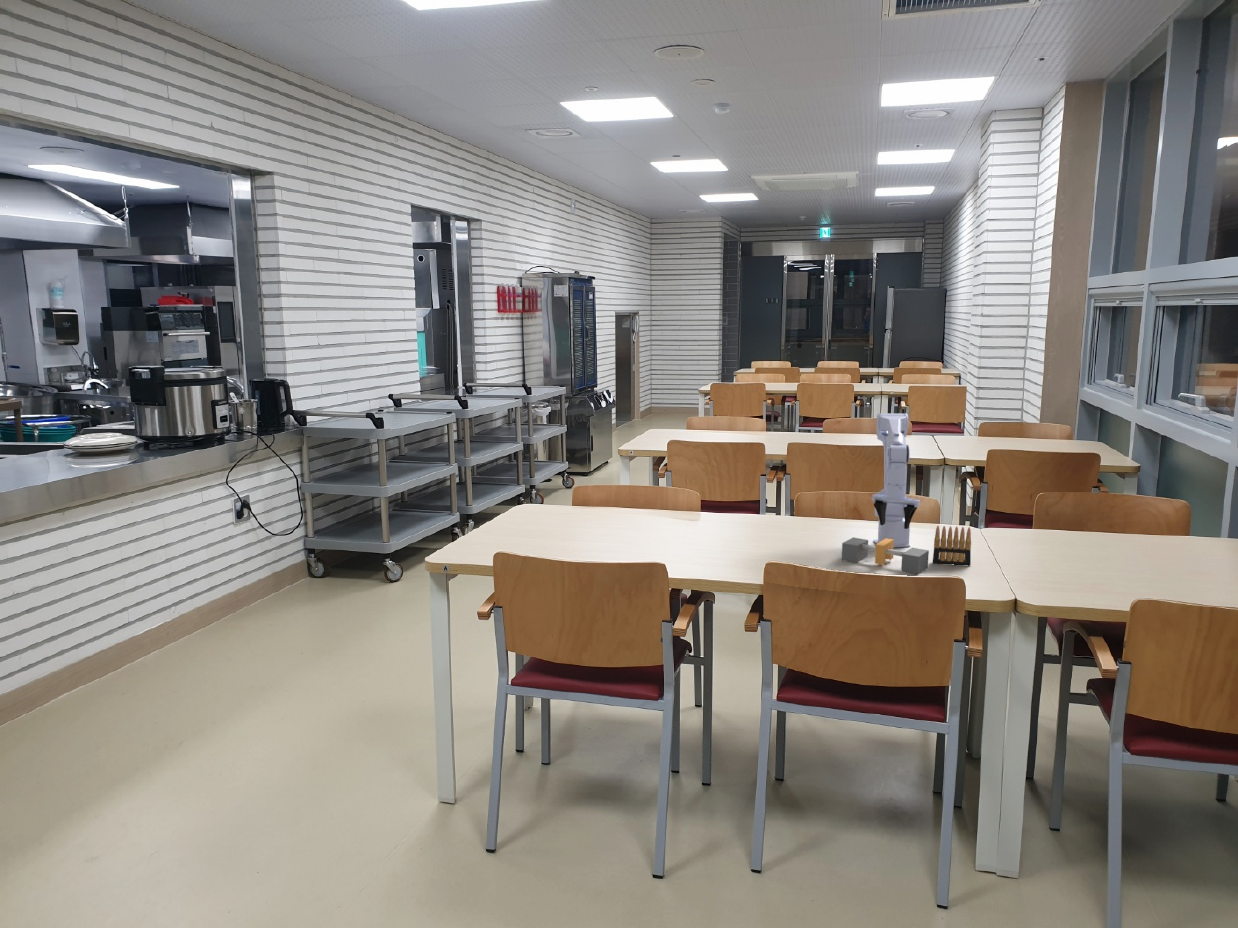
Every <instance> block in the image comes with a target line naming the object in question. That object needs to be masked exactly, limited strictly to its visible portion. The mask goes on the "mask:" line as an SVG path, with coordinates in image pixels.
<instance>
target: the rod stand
mask: <svg viewBox="0 0 1238 928" xmlns="http://www.w3.org/2000/svg"><path fill="white" fill-rule="evenodd" d="M841 544H842V545H841V561H844V560H845V561H844V562H850V563H855V564H856V563H859V562H862V561H863V560H865V559H866V558H868V557H869V556H868V555H869V551H870V552H874V553H875V547H876V545H869V539H864V538H857V537H851V538H850V539H847V540H846V541H844V542H841ZM929 552H930V551H929V550H928V549H923V548H916V547H911V548H909V549H908V550H906V551H902V550H897V549H894V550H892V549H888V550H886V554H891V555H893V556H898V557H901V570H900V571H901V573H908V574H912V575H913V574H914V575H917V574H918V575H920V574H921V573H922V572H924V571H925V570H927V569H928V568H929V555H930V553H929Z"/></svg>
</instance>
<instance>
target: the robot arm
mask: <svg viewBox="0 0 1238 928" xmlns="http://www.w3.org/2000/svg"><path fill="white" fill-rule="evenodd" d="M875 425H876V438H877V440H879V441H881V442H882V444H883V489H880V491H878V492H877V493H876V494H875V493H874V494H871V501H872V502H874V503H873V506H874V516H875V517H877V518H878V525H877V526H878V528H877V529H878V531H877V539H873V541H872V542H873V543H875V545H876V544H877V543H879V542H881V541H882V540H884V539H886V538H888V539H894V548H905V547H906V548H908V547H911V545H910V533H911V531H910V530H911V529H910V528H911V525H910V524H911V522H912V519H913V517H914V514H915V512H916V510H917V509H918V508H919V507H920V506H921V500H920V499H915V498H911V497H907V475H908V465H909V463H910V457H911V455H910V454H911V453H910V452H911V451H910V446H909V445H908V444H907V442H906V441H907V440H906V437H907V434H908V433H907V432H908V429H909V415H908V414H907V413H906V412H905V413H886V412H885V413H884V412H883V413H882V412H879V413H878V412H877V415H876V423H875Z"/></svg>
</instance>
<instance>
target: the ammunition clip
mask: <svg viewBox="0 0 1238 928" xmlns="http://www.w3.org/2000/svg"><path fill="white" fill-rule="evenodd" d="M940 530H941V534H940ZM971 530H972V529H971V527H970V526H968V528H967V531H965V527H964V526H962V527H961V529H960V535H959V528H958V526H955V528H954V533H953V529H952V526H951V525H950V526H949V527H948V533H947V528H946V526H945V525H943V527H942V529H940V526H939V525H937V526H936V528H935V535H934V538H933V539H934V540H933V555H932V564H933V565H942V564H954V565H953V566H957V565H968V566H967V567H970V566H969V565H971V557H972V556H971V554H972V553H971V551H972V540H971V539H972V532H971ZM965 532H966V534H965ZM940 535H941V536H940ZM965 535H966V537H965Z"/></svg>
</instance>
